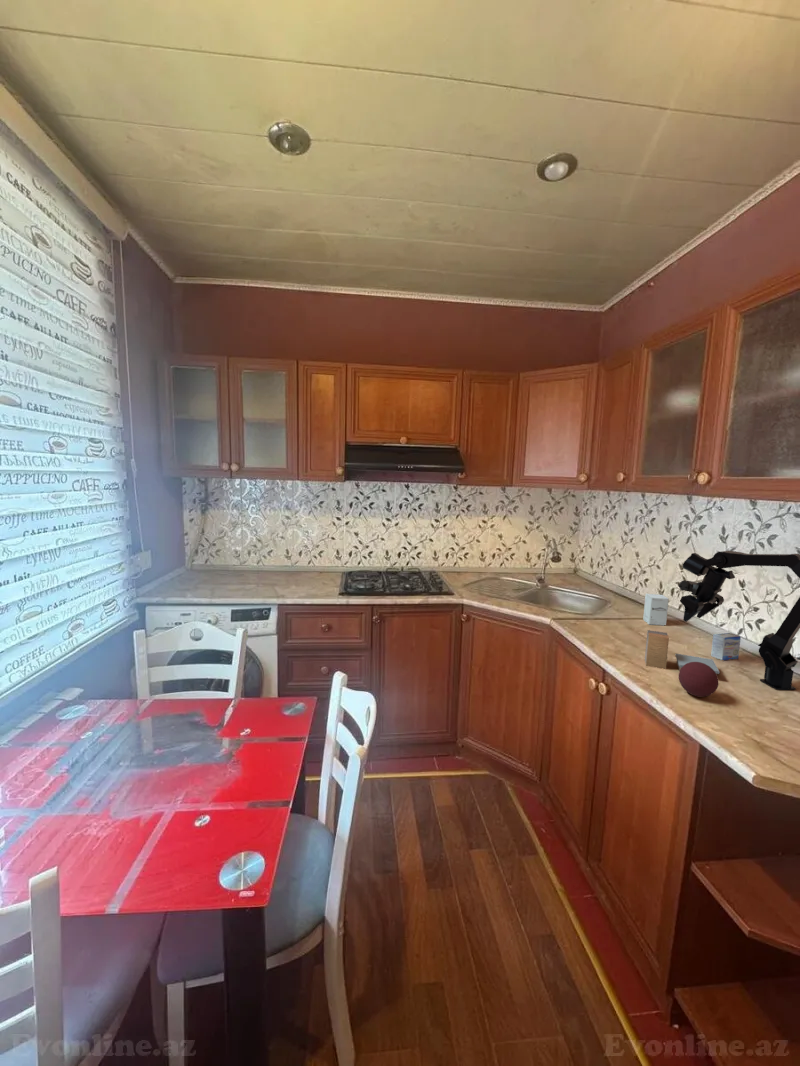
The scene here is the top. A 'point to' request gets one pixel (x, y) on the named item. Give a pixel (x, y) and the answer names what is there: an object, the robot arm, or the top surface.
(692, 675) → the decorative ball
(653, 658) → the two-tone metal block
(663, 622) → the supplement box
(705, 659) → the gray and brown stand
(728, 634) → the medicine box
